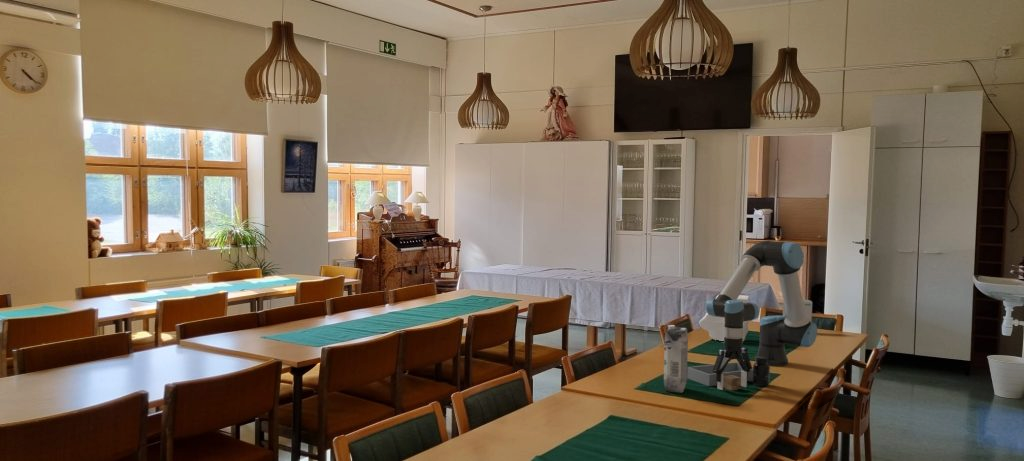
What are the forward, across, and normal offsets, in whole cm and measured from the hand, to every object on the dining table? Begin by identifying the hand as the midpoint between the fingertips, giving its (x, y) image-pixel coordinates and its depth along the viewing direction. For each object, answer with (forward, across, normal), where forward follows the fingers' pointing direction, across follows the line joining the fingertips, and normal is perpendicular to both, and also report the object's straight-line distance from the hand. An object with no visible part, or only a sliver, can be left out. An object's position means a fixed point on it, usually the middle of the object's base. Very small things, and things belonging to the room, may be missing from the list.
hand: (732, 387), depth 305 cm
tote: (0, -7, -14) cm, 15 cm away
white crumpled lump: (0, -71, -85) cm, 111 cm away
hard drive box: (0, -127, -88) cm, 155 cm away
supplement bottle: (0, -16, 0) cm, 16 cm away
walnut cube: (0, 0, 0) cm, 0 cm away
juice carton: (0, +24, -7) cm, 25 cm away
